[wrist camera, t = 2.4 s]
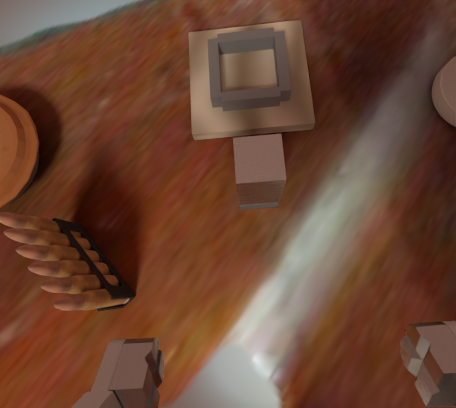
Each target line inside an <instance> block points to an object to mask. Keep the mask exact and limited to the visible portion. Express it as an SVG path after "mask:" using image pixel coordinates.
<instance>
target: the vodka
mask: <svg viewBox="0 0 456 408" xmlns="http://www.w3.org/2000/svg"><path fill="white" fill-rule="evenodd" d="M432 101H433V104H434V107H435V109H436V110H437V112H438V113H439V115H440V116H441V117H442V118H443V119H444V120H445V121H446V122H448V123H449V124H451V125H452V126H454V127H456V56H455V57H453V58H452V59H451V60H450V61H449V62H448V63H447V64H446V65H445V66H444V67H443V68H442V69H441V70H440V71H439V72H438V74H437V75H436V77H435V79H434V82H433V86H432Z"/></svg>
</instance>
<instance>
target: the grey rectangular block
mask: <svg viewBox="0 0 456 408" xmlns="http://www.w3.org/2000/svg"><path fill="white" fill-rule="evenodd" d="M233 144H234V159H235V174H236V186H237V191H238V196H239V201H240V209H241V210H252V209H265V208H277V207H278V206H279V201H280V198H281V195H282V192H283V189H284V185H285V182H286V172H285V162H284V153H283V144H282V135H281V134H272V135H261V136H249V137H238V138H233Z"/></svg>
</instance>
